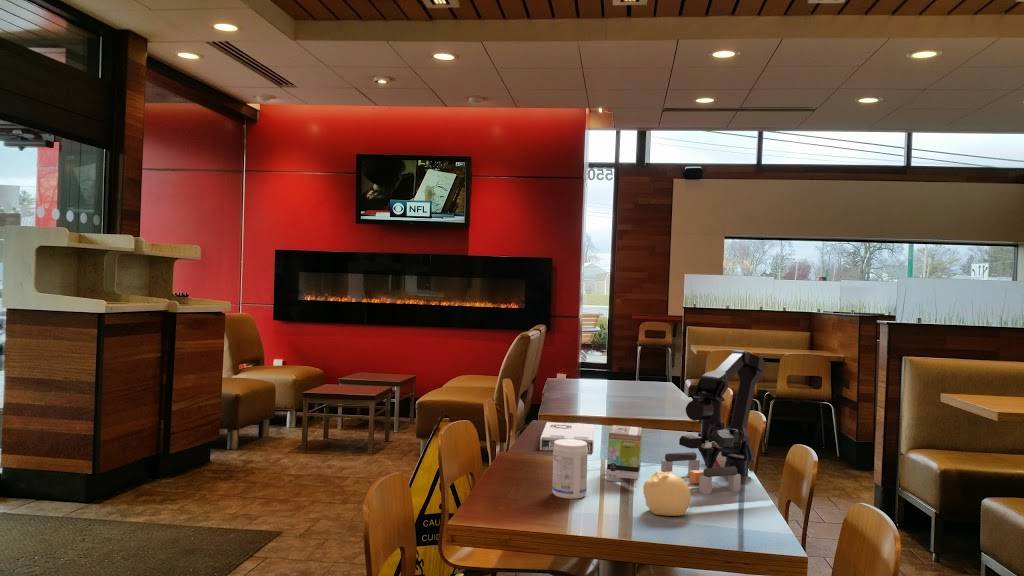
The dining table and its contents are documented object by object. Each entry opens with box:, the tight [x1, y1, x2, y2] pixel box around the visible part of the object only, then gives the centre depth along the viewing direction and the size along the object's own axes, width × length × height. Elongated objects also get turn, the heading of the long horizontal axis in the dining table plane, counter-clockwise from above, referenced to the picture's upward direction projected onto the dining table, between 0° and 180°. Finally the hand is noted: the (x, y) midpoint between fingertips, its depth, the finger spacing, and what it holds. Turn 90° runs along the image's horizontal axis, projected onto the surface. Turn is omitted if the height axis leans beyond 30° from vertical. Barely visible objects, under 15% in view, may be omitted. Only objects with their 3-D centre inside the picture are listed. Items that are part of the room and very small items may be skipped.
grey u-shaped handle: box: [660, 451, 701, 474], centre depth 225 cm, size 12×2×8 cm, turn 112°
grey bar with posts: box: [698, 466, 742, 495], centre depth 208 cm, size 12×2×8 cm, turn 112°
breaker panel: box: [680, 476, 727, 491], centre depth 215 cm, size 16×13×2 cm
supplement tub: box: [551, 439, 588, 500], centre depth 204 cm, size 10×10×15 cm
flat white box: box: [539, 421, 595, 455], centre depth 275 cm, size 19×33×5 cm, turn 173°
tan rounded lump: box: [642, 470, 691, 517], centre depth 190 cm, size 12×12×11 cm
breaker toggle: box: [688, 469, 704, 483], centre depth 216 cm, size 3×3×3 cm
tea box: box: [605, 424, 643, 483], centre depth 226 cm, size 15×10×15 cm
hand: (709, 469), depth 218 cm, fingers closed
